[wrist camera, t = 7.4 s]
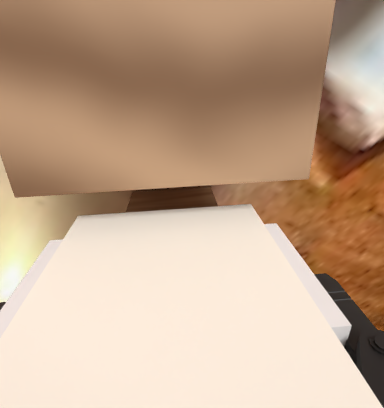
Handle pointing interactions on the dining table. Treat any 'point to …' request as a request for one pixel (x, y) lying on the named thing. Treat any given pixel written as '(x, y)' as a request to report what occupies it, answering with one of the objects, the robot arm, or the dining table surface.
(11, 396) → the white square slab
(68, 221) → the dining table surface
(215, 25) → the cabinet
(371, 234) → the dining table surface
